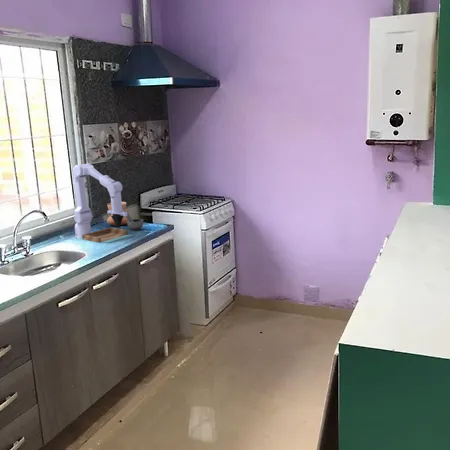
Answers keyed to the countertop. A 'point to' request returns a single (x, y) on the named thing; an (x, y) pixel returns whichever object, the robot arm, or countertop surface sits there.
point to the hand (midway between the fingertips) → (118, 227)
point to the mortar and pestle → (134, 223)
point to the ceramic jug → (110, 220)
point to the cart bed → (104, 235)
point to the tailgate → (117, 238)
